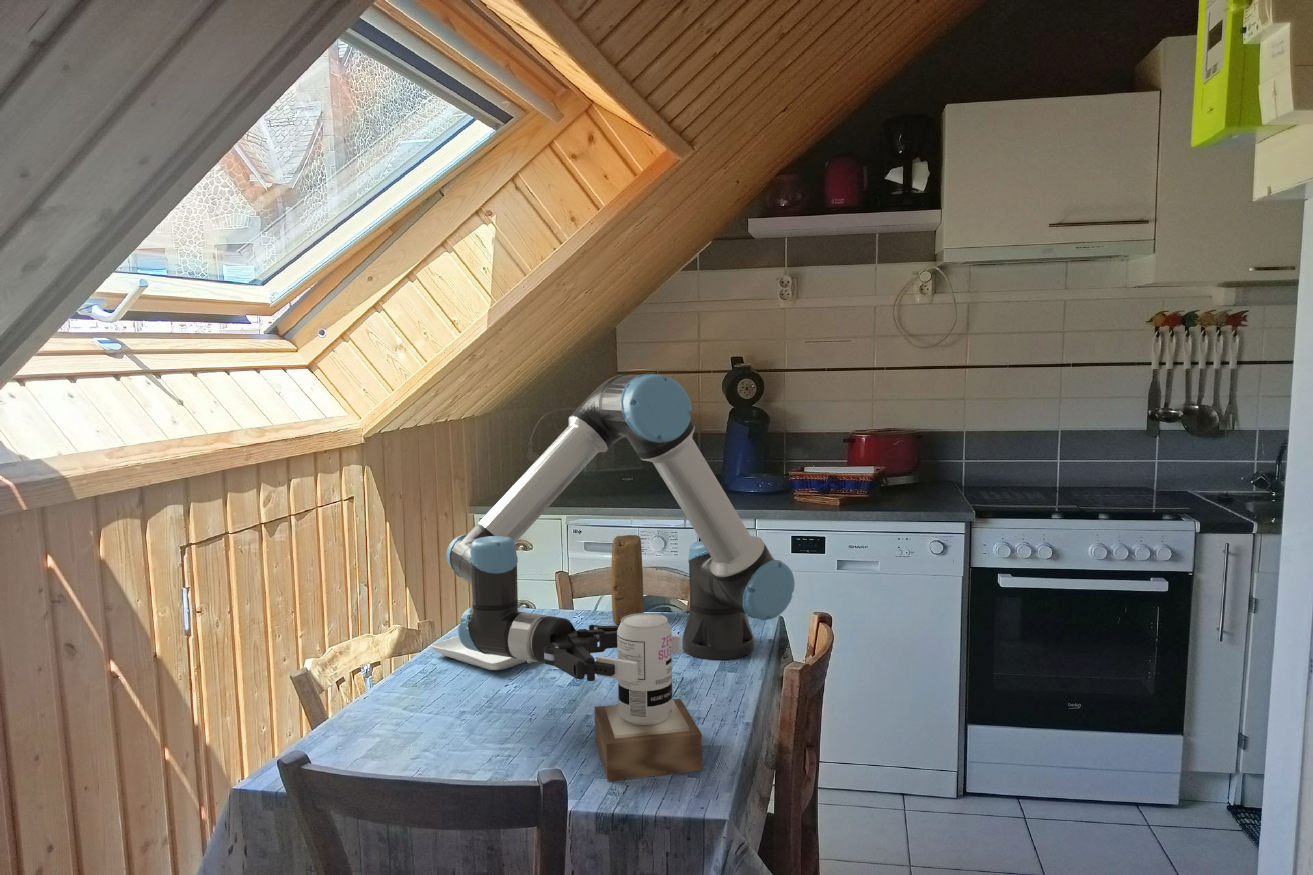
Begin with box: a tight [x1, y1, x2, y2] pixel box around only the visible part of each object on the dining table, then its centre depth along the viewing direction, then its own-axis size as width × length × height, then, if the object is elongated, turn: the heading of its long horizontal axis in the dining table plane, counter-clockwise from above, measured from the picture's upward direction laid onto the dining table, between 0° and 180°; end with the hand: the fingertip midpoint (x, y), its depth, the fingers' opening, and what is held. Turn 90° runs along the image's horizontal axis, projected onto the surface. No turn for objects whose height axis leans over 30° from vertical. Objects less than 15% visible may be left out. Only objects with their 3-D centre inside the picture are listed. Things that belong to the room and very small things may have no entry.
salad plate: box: [430, 635, 528, 671], centre depth 179 cm, size 21×21×3 cm
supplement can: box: [616, 612, 673, 726], centre depth 129 cm, size 8×8×15 cm
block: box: [610, 534, 645, 626], centre depth 200 cm, size 11×8×20 cm
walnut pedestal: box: [593, 698, 703, 782], centre depth 130 cm, size 14×14×6 cm
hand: (659, 657), depth 128 cm, fingers open, 13 cm apart
